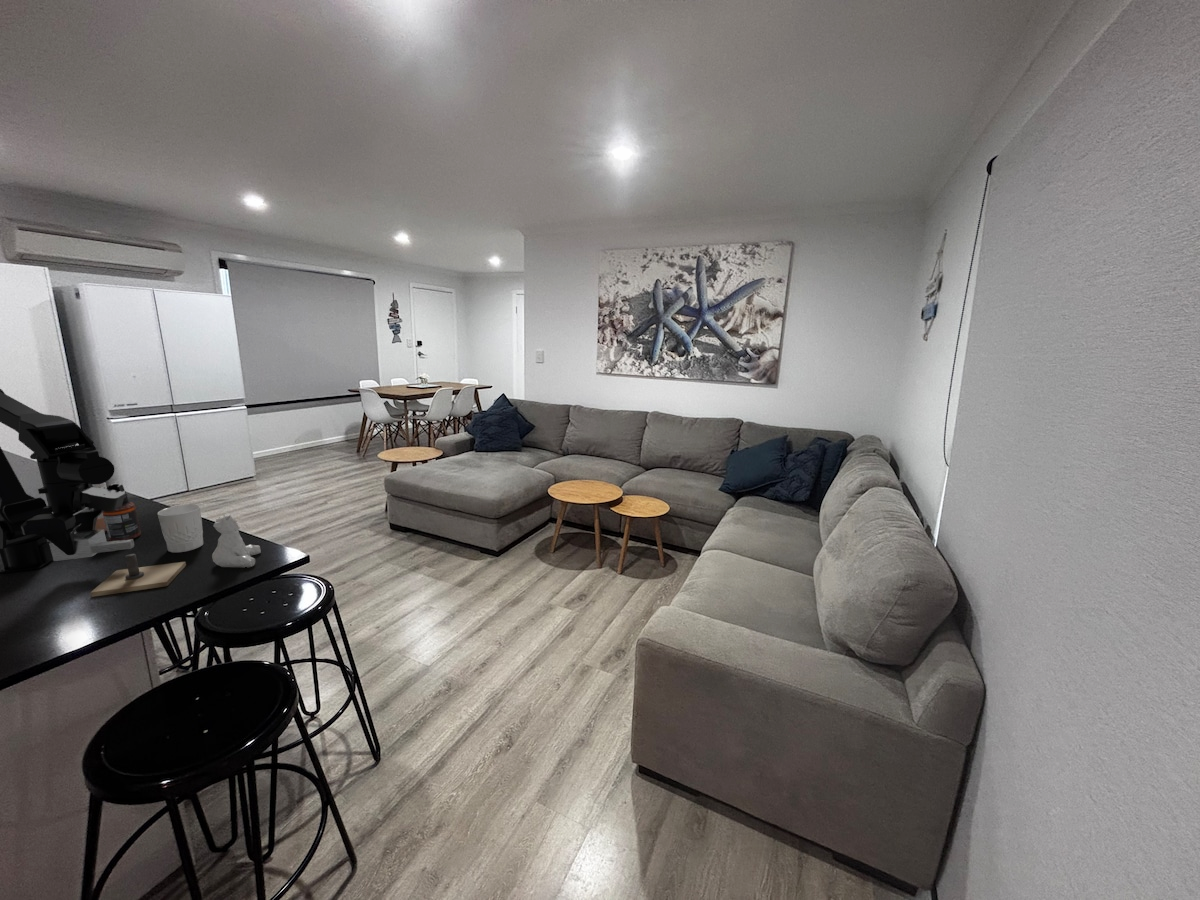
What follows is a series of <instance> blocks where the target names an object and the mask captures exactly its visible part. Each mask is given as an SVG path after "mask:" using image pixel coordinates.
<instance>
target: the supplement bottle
mask: <svg viewBox="0 0 1200 900" xmlns="http://www.w3.org/2000/svg"><path fill="white" fill-rule="evenodd" d="M135 505H136V504H135V503H134V502H132V501H129V498H128V496H127V497H125V498H124V500H123V503H122V506H121V507H119V508H117V509H116V510H115V511H112V512H107V511H104V512H103V517H104V521H105V525H106V529H107V531H106V533H107V537H108V539H109V542H110V541H121V540H130V539H133V540H134V539H136V538H138V537H139V536H141V534H142V531H141V527H140V522H139V518H138V513H137V509H136V506H135Z"/></svg>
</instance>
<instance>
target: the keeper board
mask: <svg viewBox="0 0 1200 900" xmlns="http://www.w3.org/2000/svg"><path fill="white" fill-rule="evenodd" d="M124 557H125V562H126V567H127V568H123V569H117V570H115V571H114V572H113V573H112V574H110V575H109V576H108V577H107V578H105V580H104V581H102V582H101V583H99V585H97V586H96V587H95V588H94V589H93V590H92V591H90V596H91V597H92V598H93V597H99V596H100V597H101V596H107V595H114V594H120V593H121V594H122V593H129V592H136V591H142V590H148V589H149V590H150V589H156V588H163V587H168V586H169V585H171V583H172V582H173V581H174V580H175V578H176V577H177V576H178V575H180V573H181V572H182V571H183V570H184V568H186V566H187V563H186V561H180V562H179V561H178V562H171V563H164V564H155V565H147V566H141V567H139V565H138V559H137V555H136V553H130V554H127V555H125V556H124Z"/></svg>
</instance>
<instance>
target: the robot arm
mask: <svg viewBox="0 0 1200 900" xmlns="http://www.w3.org/2000/svg"><path fill="white" fill-rule="evenodd" d="M0 423H1V424H3V425H4V426H6V427H9V428H11V429H12V430H14V431H15V432H17V433H18V441H19V442H20V443H22V444H23V445H24V446H26V447H27V448H28V450H30V451H31V452H33V453H31V454H30V455H29V458H30V459H31V460H36V463H37V466H38V467H37V468H38V470H39V475H40V478H41V479H40V480H41V481H42V486H43V487H40V488H37V491H38V494H39V495H43V494H44V495H45V498H46V500H45V499H43V498H42V497H33V496H32V495H30V494H28V493H26V491H25V489H24V487H23V485H22V483H21V481H20V480H19V478H18V476H17V474H16V472H15V471H14V469H13V467H12V465H11V463H10V462H9V459H8V458H7V456H6V454H5V452H4V451H3V449H2V447H1V446H0V560H1V563H2V567H3V568H1V569H0V574H5V573H15V572H22V571H30V570H39V569H41V568H42V567H44V566H45V565H47V564H49V563H50V562H51V561H54V560H53V556H52V553H51V549H50V545H49V543H51V542H52V543H53V544H54V545H55V546H57V547H58V548H59V549H60V550H62V551H63V552H64V553H65V554H67V555H74V554H75V535H74V532H79V531H89V530H95V526H96V521H97V518H98V516H99V515H100V514H101V513H102V512H104V511H107V512H112V511H115V510H116V509H117V508H119V507H121V506H122V503H123V500H124V498H125V497H128V494H127V490H125V487H124V485H123V483H116V482H114V483H111V484H110V485H109V486H106V487H107V488H106V489H105V487H102V488H95V487H93V485H92V484H102V483H104V482H105V483H106V482H108V481H109V480H111V479H112V477H113V475H114V473H115V465H114V463H112V461H110V459H108V458H106V457H103V456H100V454H99V451H98V450H97V447H96V446H95V445H94V443H95V442H94V441H93V440H92V439H91V438H90V436H88V435H87V434H86V433H85V432H84V431H83V429H82V428H81V427H80V426H79V425H78V424H77V423H76V422H74V421H73V420H72V419H69V418H66V417H64V416H60V415H53V414H46V413H42V412H39V411H38V410H35V409H34V408H32V407H29V406H28V405H25V404H24V403H22V402H20V401H19V400H17V399H15V398H13V397H11V396H9V395H7V394H6V393H5V391H3V389H1V388H0ZM46 501H47V503H46Z"/></svg>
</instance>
